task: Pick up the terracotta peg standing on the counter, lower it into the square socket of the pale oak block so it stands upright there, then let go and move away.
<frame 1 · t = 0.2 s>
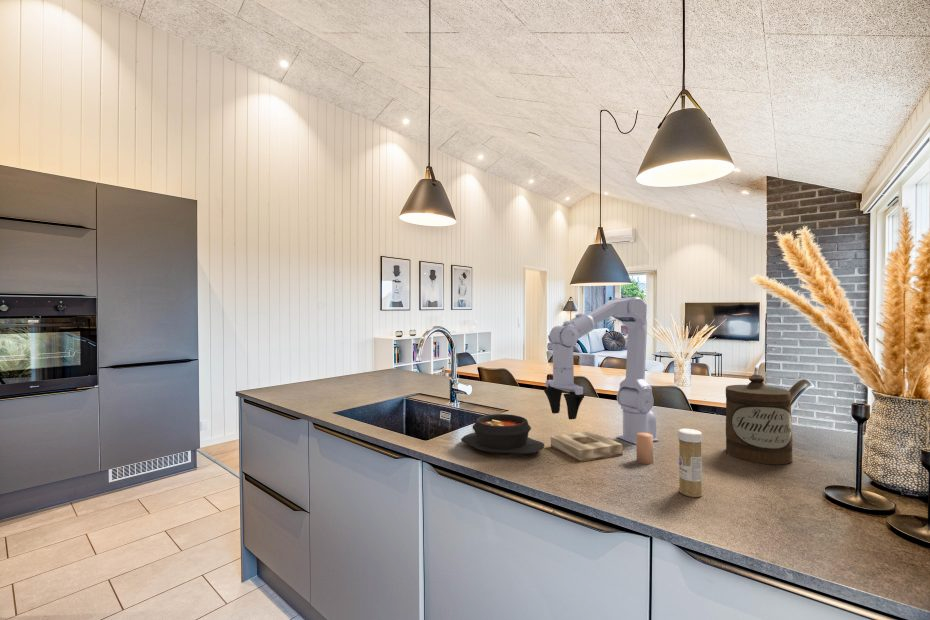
hand: (563, 415, 118), 10 cm above the counter, fingers open, 7 cm apart
oak socket block: (585, 450, 118), on the counter
casserole: (501, 449, 121), on the counter
wooden container: (758, 456, 113), on the counter
sprinkles bottle: (690, 494, 89), on the counter
terracotta peg: (644, 461, 109), on the counter
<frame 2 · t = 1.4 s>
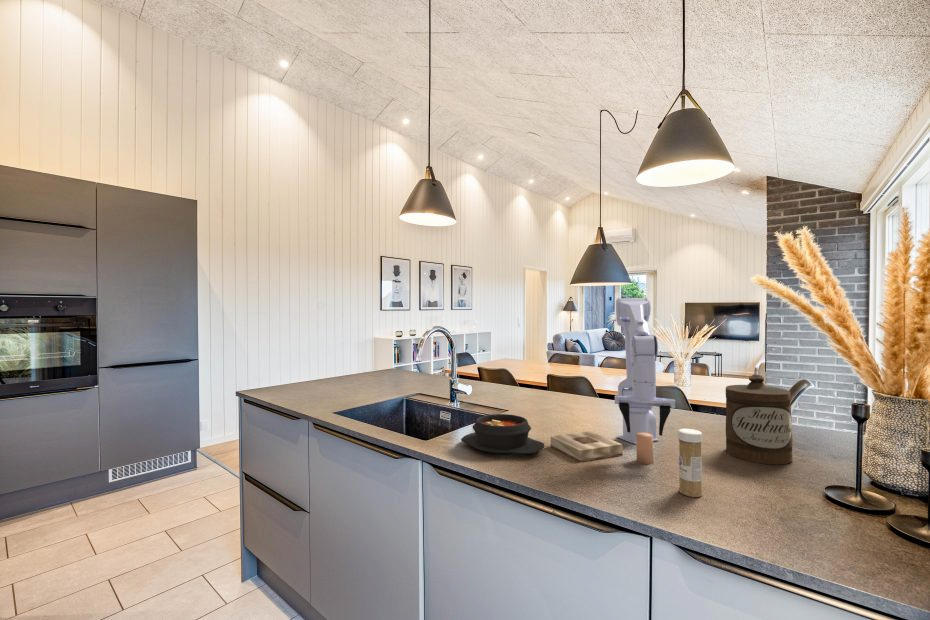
hand: (644, 433, 109), 7 cm above the counter, fingers open, 7 cm apart
nothing on the counter moved.
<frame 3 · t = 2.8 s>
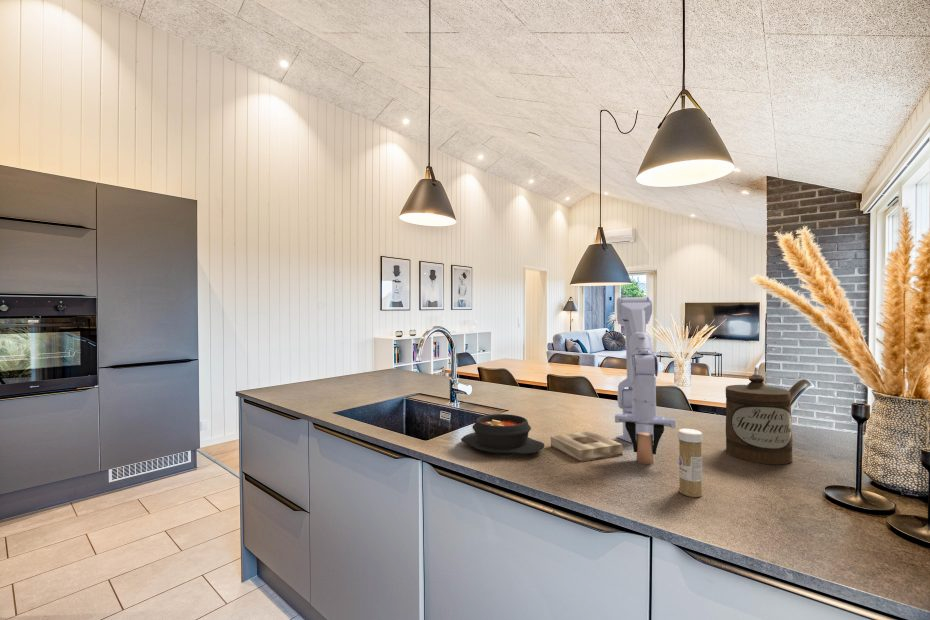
hand: (644, 452, 109), 2 cm above the counter, fingers closed on terracotta peg, 4 cm apart
terracotta peg: (644, 461, 109), on the counter, touching gripper
everything else where it was.
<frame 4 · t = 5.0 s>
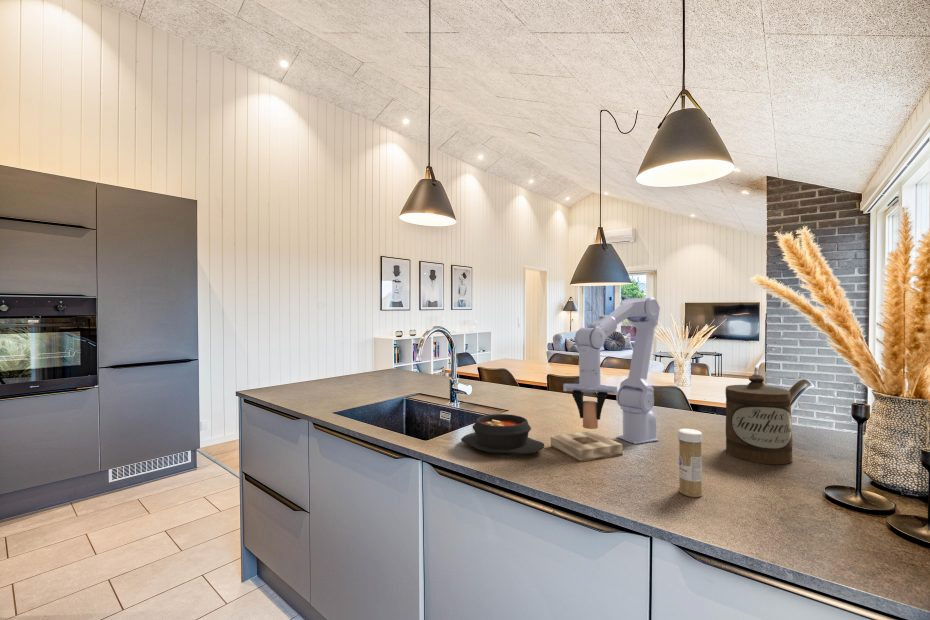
hand: (590, 418, 117), 9 cm above the counter, fingers closed on terracotta peg, 4 cm apart
terracotta peg: (590, 427, 117), point 7 cm above the counter, touching gripper
everything else where it was.
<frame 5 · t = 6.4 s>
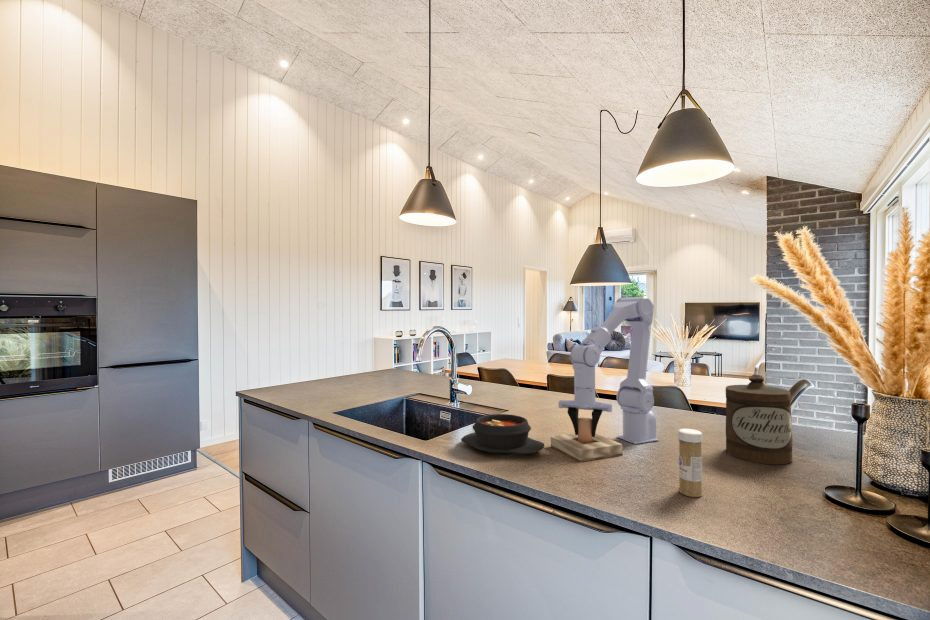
hand: (585, 435, 118), 4 cm above the counter, fingers closed on terracotta peg, 4 cm apart
terracotta peg: (585, 443, 118), point 2 cm above the counter, touching gripper
everything else where it was.
when the fingers open (4 cm above the counter, at t = 7.2 s): terracotta peg drops 1 cm, resting on oak socket block.
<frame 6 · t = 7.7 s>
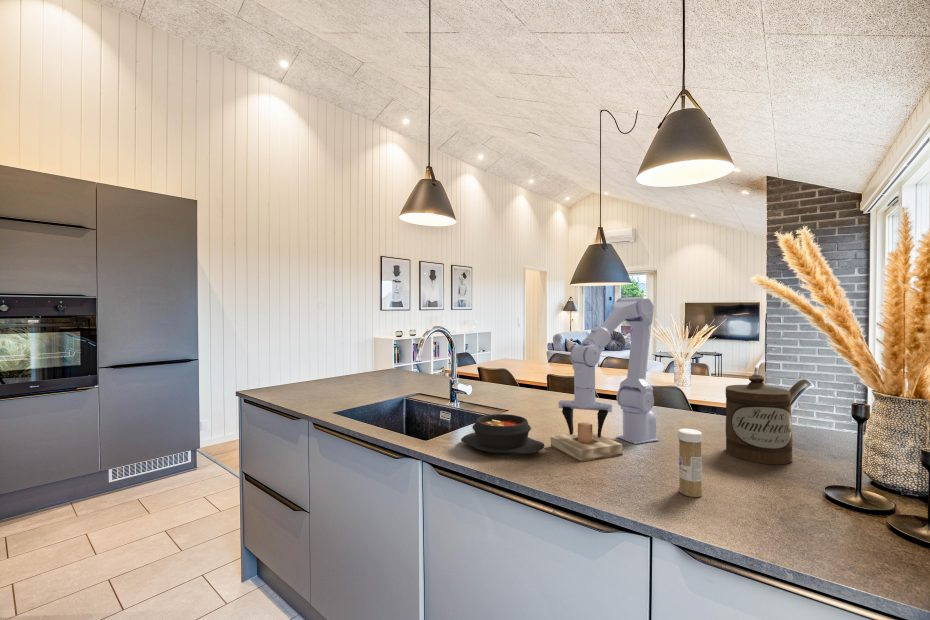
hand: (585, 435, 118), 4 cm above the counter, fingers open, 7 cm apart
terracotta peg: (585, 449, 118), point 1 cm above the counter, touching oak socket block
everything else where it was.
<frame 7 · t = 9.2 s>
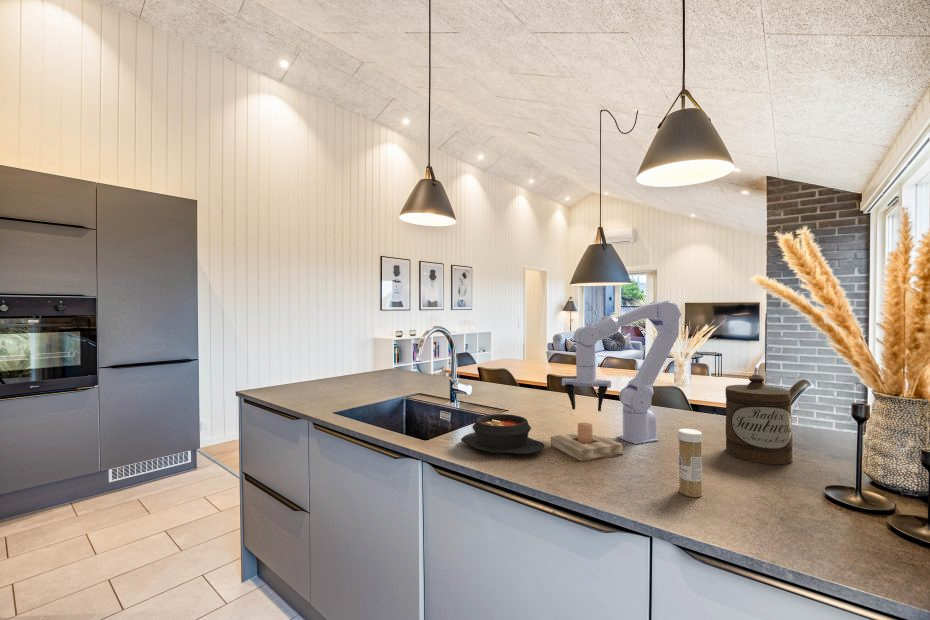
hand: (586, 409, 128), 9 cm above the counter, fingers open, 7 cm apart
nothing on the counter moved.
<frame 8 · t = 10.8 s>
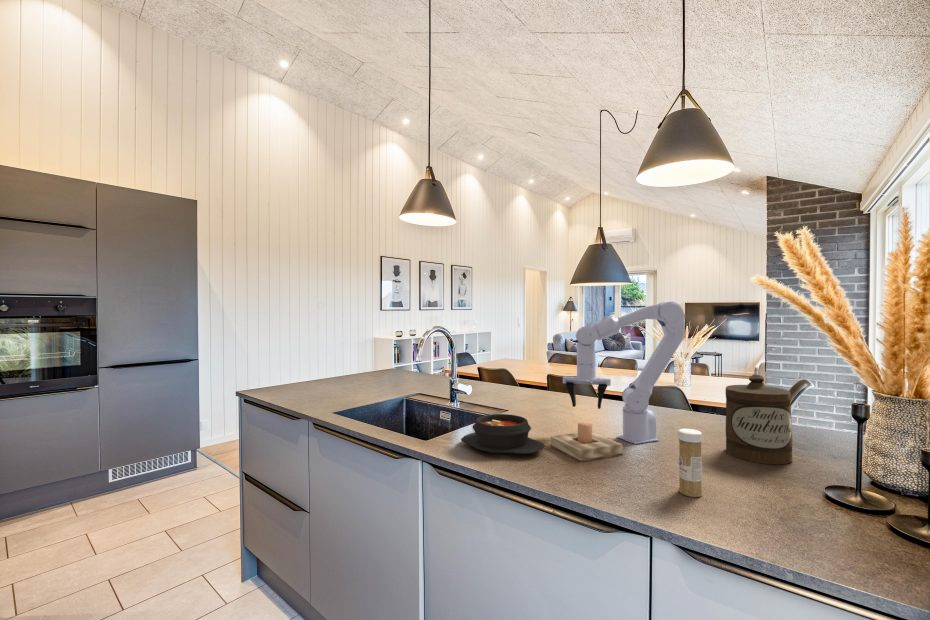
hand: (586, 407, 132), 9 cm above the counter, fingers open, 7 cm apart
nothing on the counter moved.
at the end: terracotta peg 0.1 cm off-centre on the oak socket block, point 0.5 cm above the oak socket block's base; terracotta peg tilted 1°; the gripper is holding nothing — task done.
